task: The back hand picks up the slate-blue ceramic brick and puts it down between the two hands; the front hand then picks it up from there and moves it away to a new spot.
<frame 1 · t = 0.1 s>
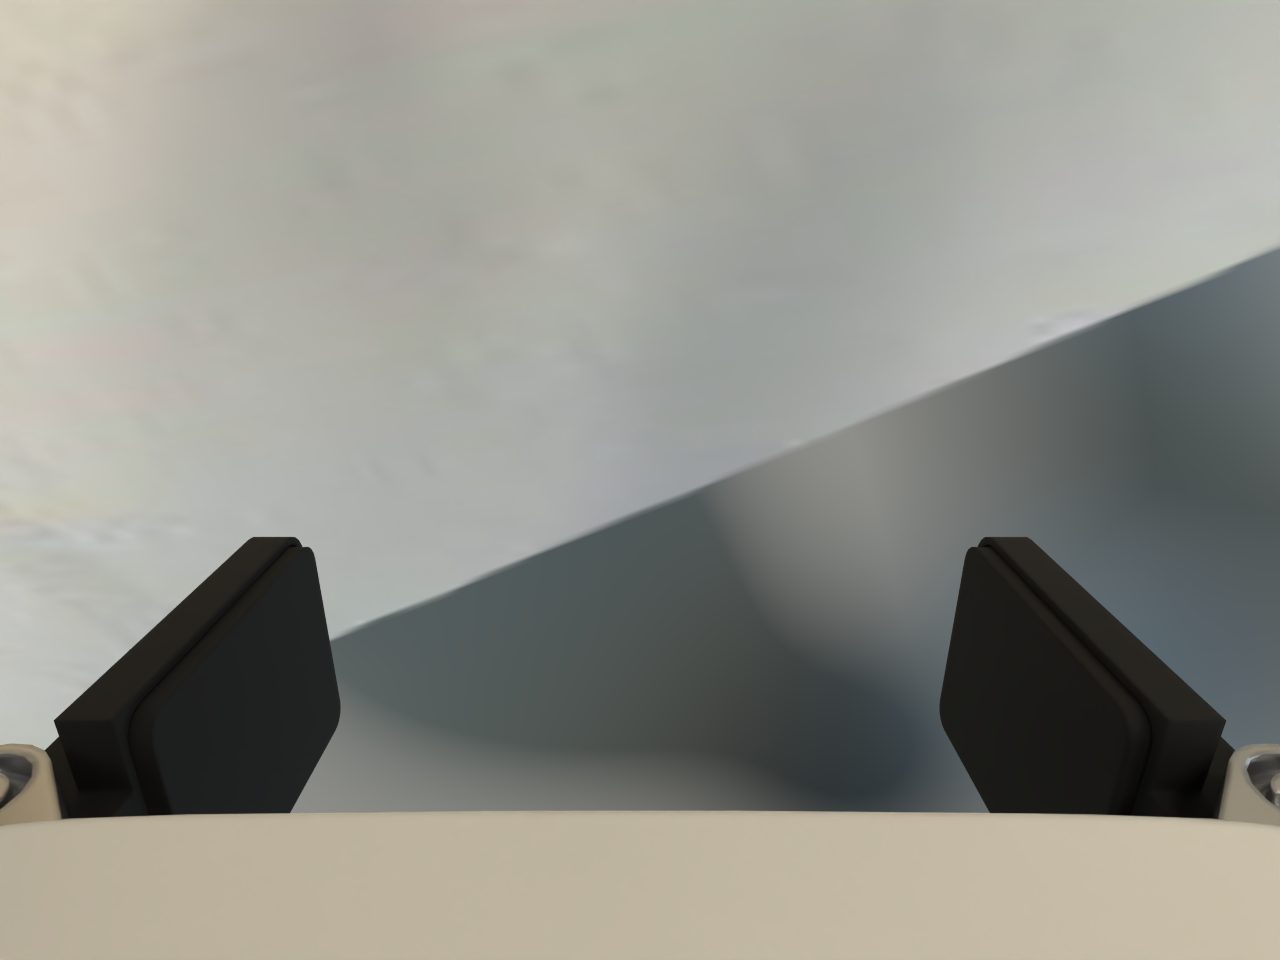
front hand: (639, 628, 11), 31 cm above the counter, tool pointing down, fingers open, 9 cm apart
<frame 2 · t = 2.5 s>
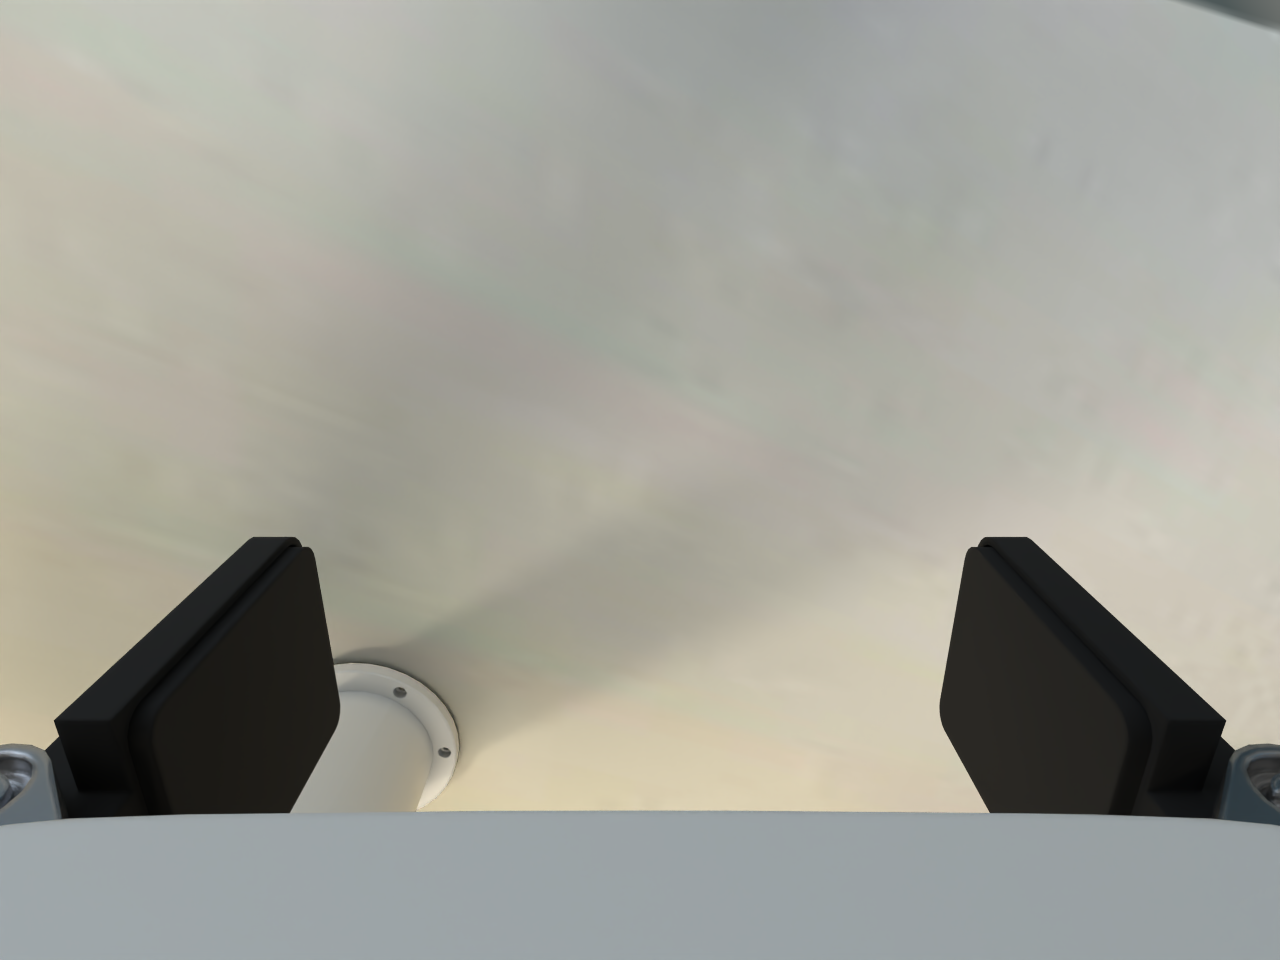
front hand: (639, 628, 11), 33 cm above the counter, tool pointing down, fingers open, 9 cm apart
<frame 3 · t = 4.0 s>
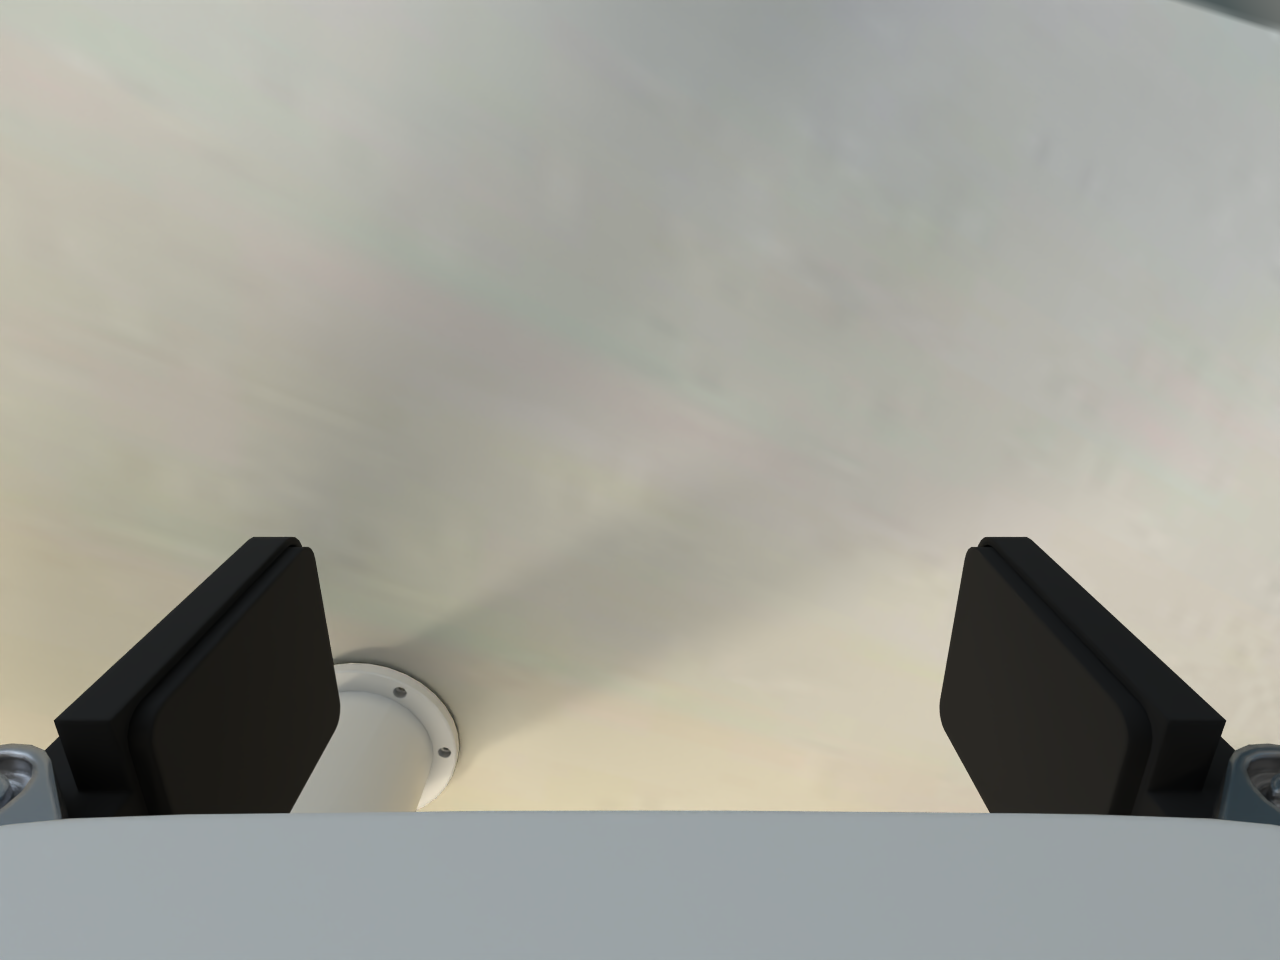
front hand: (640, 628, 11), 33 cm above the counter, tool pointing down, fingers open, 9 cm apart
when the back hand's fingers open (4 cm above the counter, at t = 5.9 s): brick drops 2 cm, on the counter.
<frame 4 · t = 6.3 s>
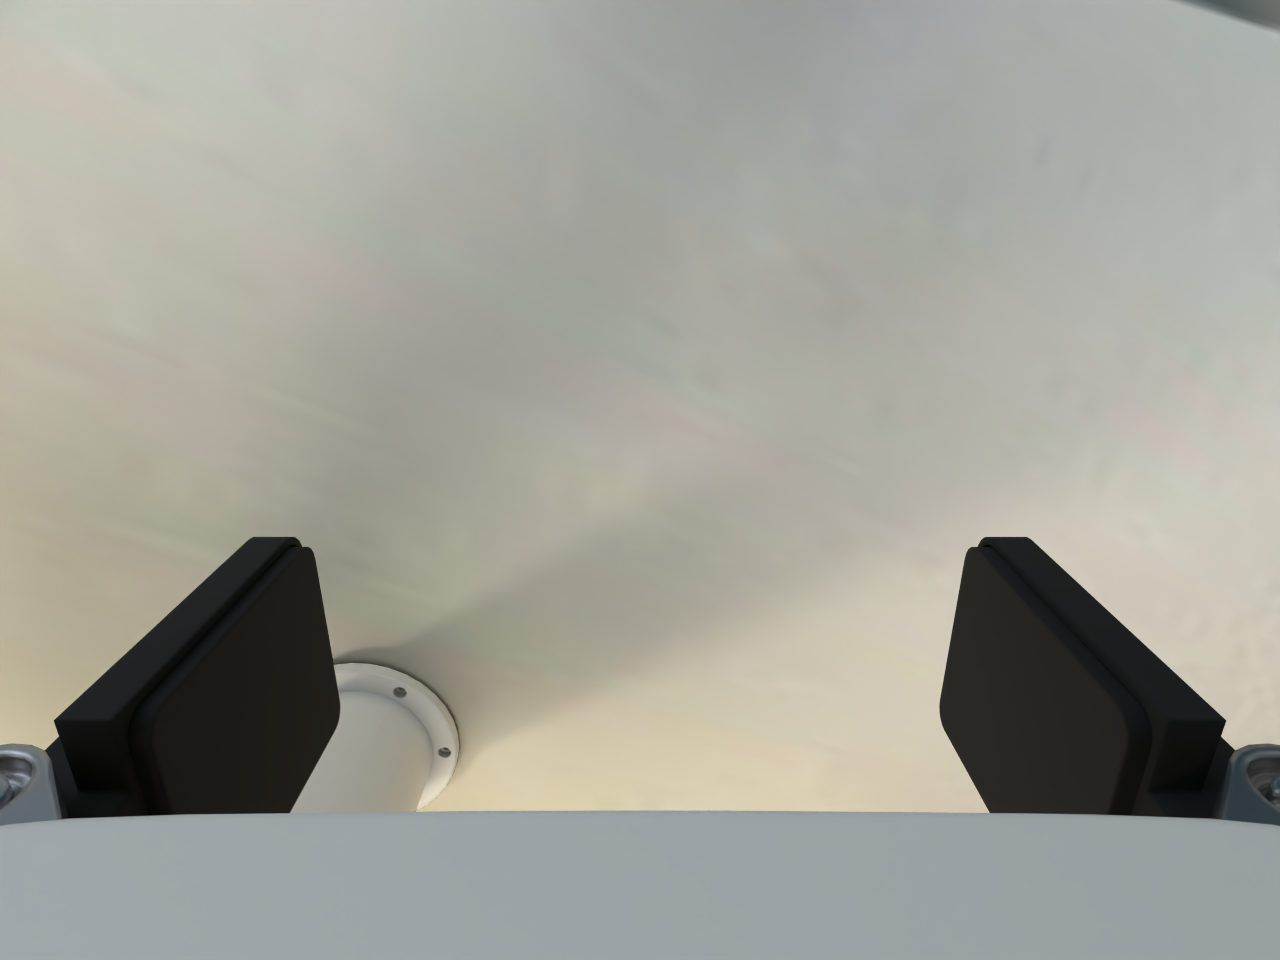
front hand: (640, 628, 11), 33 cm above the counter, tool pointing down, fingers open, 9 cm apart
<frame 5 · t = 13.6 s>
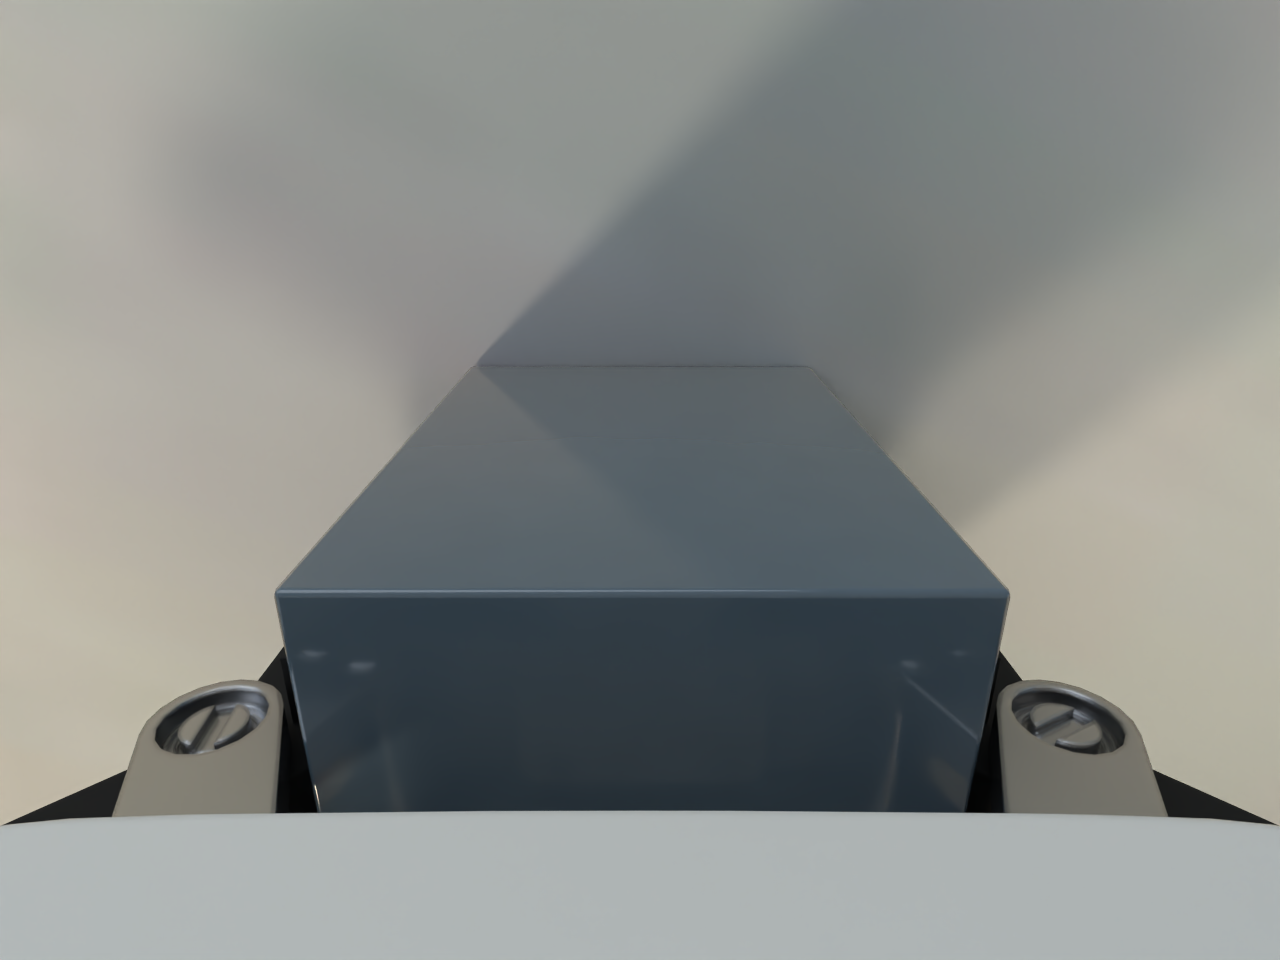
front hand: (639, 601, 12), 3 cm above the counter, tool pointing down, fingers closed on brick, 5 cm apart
brick: (640, 524, 14), on the counter, touching front hand
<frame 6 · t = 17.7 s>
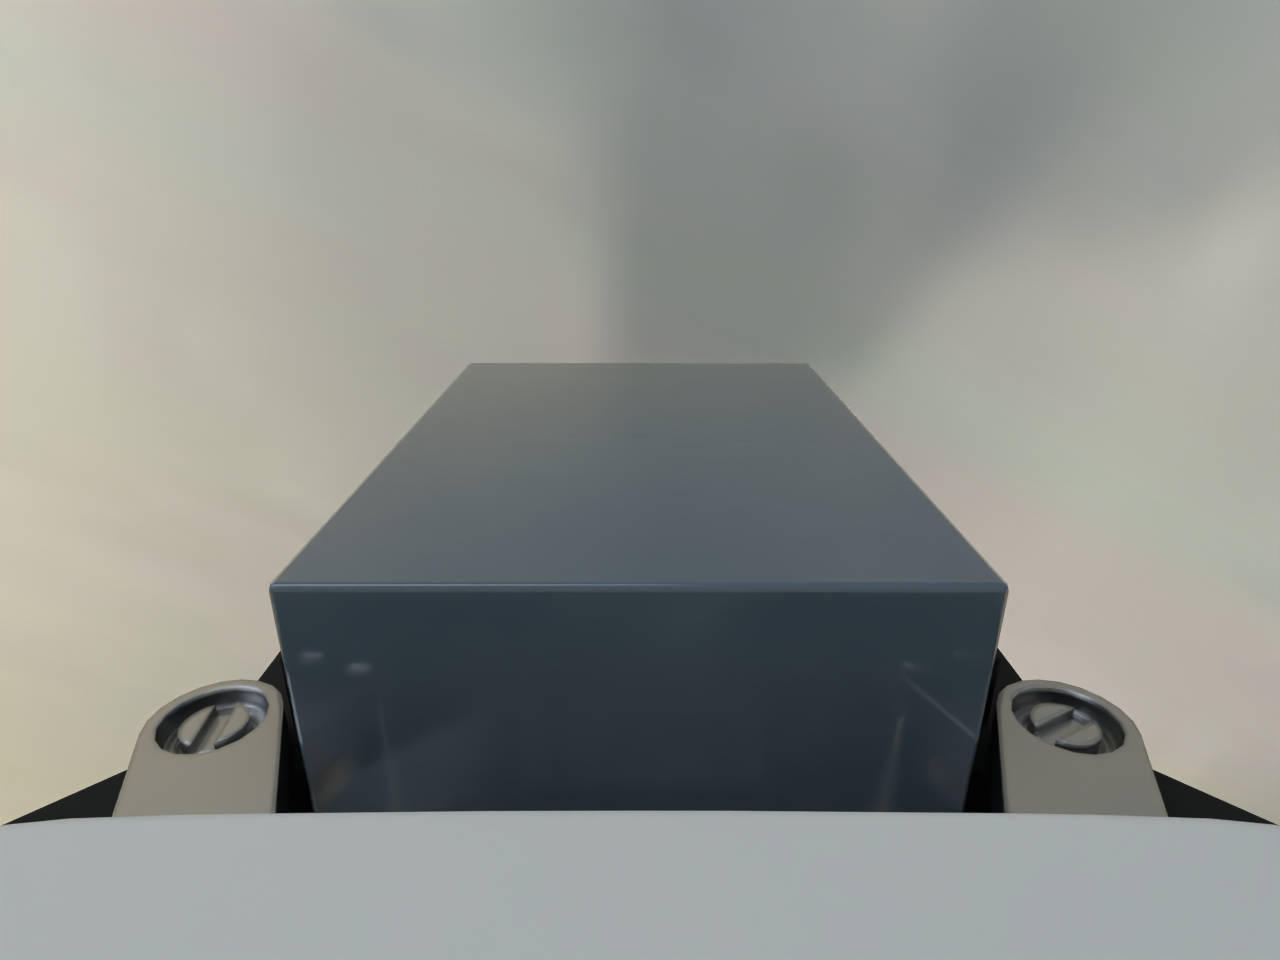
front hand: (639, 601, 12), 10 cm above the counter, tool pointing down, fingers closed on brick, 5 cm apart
brick: (638, 521, 14), point 7 cm above the counter, touching front hand
when the front hand's fingers open (4 cm above the counter, at t = 22.1 s): brick drops 2 cm, on the counter.
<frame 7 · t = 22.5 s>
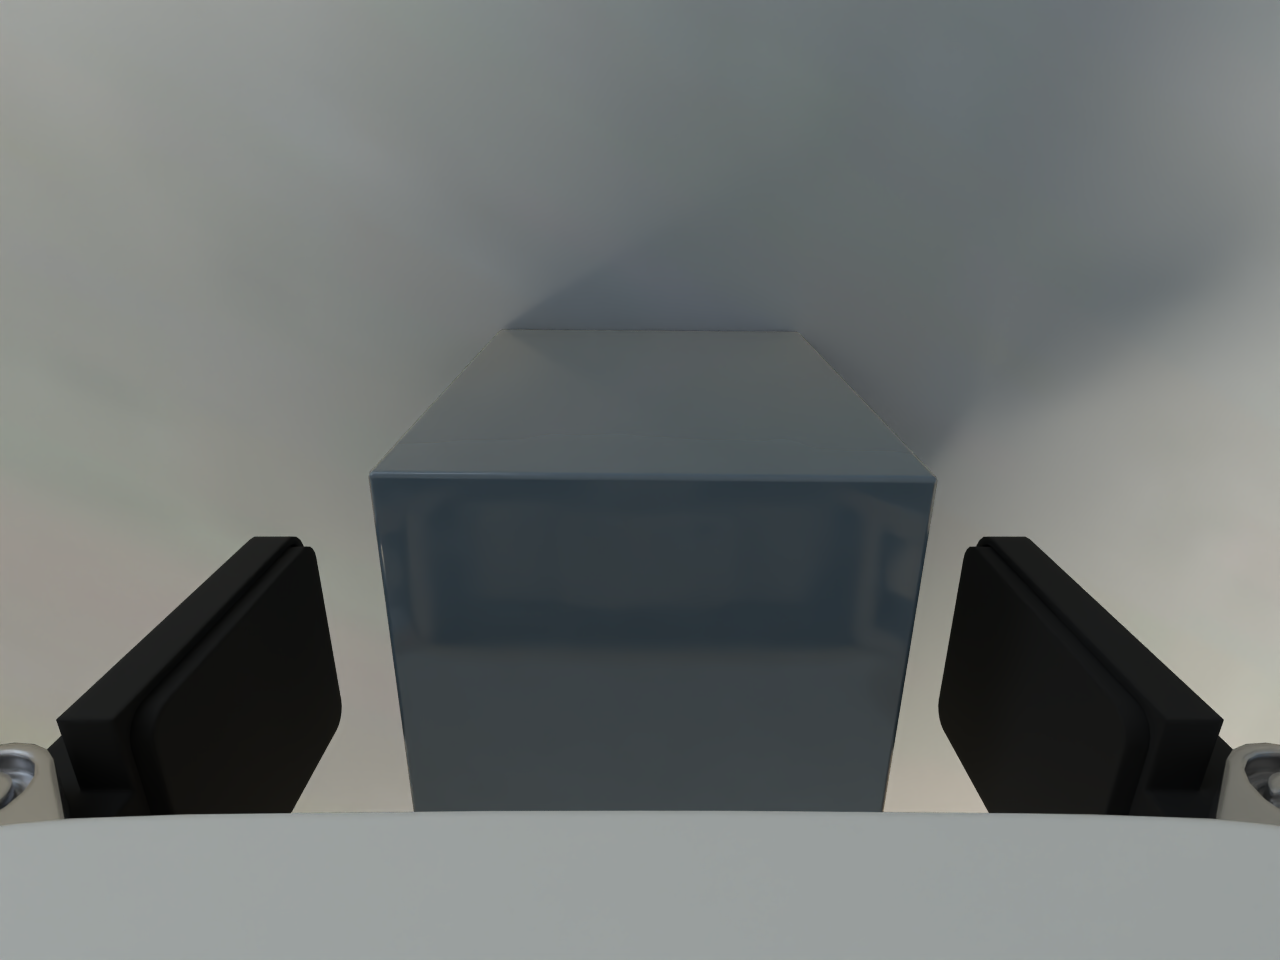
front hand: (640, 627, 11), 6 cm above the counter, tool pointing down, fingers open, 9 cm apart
brick: (647, 472, 16), on the counter
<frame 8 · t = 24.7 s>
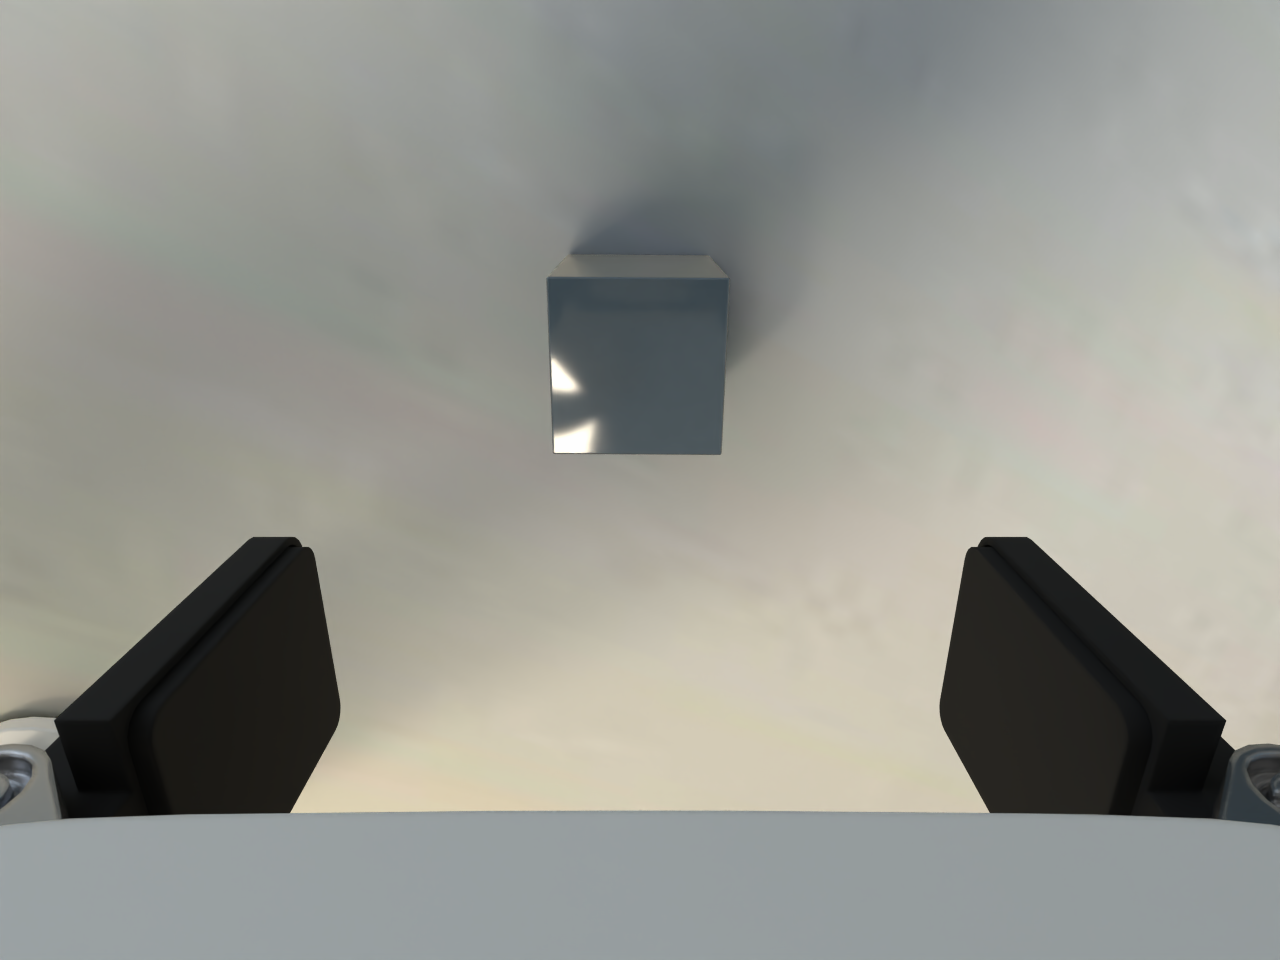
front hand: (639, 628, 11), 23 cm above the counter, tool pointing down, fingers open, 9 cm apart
brick: (638, 327, 33), on the counter
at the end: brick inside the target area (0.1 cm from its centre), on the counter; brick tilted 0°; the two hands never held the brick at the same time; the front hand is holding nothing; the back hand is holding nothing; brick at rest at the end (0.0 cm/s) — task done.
